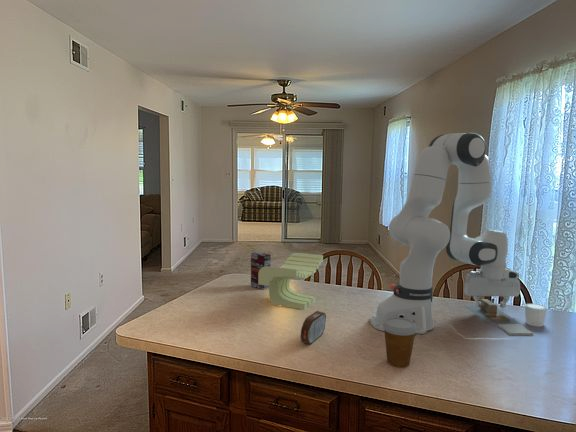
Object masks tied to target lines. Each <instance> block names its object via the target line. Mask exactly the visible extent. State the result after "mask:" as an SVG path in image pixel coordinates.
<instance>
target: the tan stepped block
mask: <svg viewBox="0 0 576 432" xmlns="http://www.w3.org/2000/svg"><path fill="white" fill-rule="evenodd" d="M480 303H482V305H481V307H480V309H481V310H483V311H484V312H485V313H487V314H486V316H487V317H488V318H489V319H491V320H492V321H510V319H508V318H507V317H505V316H504V315H502V314H497V308H498V305H497V304H496V303H494V302H492V301H491V300H489V299H486V298H480Z"/></svg>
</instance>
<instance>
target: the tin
mask: <svg viewBox="0 0 576 432" xmlns="http://www.w3.org/2000/svg"><path fill="white" fill-rule="evenodd" d="M326 320H327V314H326V313H325V312H322V311H319V310H316V311H314V312H313V313H311V314H309V315H308V316H307V317H306V318H305V319H304V321H303V323H302V325H301V329H300V341H301V342H302V343H303V344H308V345H312V344H313V343H315V341H317V340H318V339H319V338H320V337H321V336H322V335H323V334H324V331H325V329H326V328H325V327H326V323H327V321H326Z"/></svg>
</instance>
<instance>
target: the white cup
mask: <svg viewBox="0 0 576 432" xmlns="http://www.w3.org/2000/svg"><path fill="white" fill-rule="evenodd" d="M524 306H525V307H524V308H525V309H524V311H525V312H524V313H525V316H524V317H525V324H527V325H529V326H531V327H532V326H533V327H543V326H544V325H545V319H546V316H547V309H548V308H547V306H545V305H542V304H538V303H525V304H524Z"/></svg>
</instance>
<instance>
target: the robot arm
mask: <svg viewBox="0 0 576 432" xmlns="http://www.w3.org/2000/svg"><path fill="white" fill-rule="evenodd" d="M486 152H487V147H486V142H485V139H484V138H483V137H482V135H480V134H479V133H475V132H465V133H464V132H460V133H459V132H454V133H453V132H452V133H447V134H440V135H438V136H436V137H434V138H433V139H432V140H431V141H430V143H428V146H426V147H425V148H423V149H422V151H421V153H420V155H419V157H418V160H417V162H416V165H415V167H414V168H415V169H414V172H413V177H412V181H411V185H410V188H409V193H408V196H407V199H406V201H405V203H404V205H403V207H402V209H401V210H400V211H399V212H398V214H397V215H396V216H394V217H393V218H392V219H391V221H390V222H389V224H388V232H389V235H390V237H391V238H392V239H394V240H395V241H396V242H398V243H400V244H402V245H405V246H408V247H409V251H408V255H407V256H406V258H404V259H403V260H402V261H401V262H400V265H399V283H398V284H395V283H391V284H390V285H389V288H390V289H391V290H392V291H393V294H392V295H390V296H389V297H387V298H386V299H384V300H383V301H381V302H380V303H379V304H378V306H377V309H376V314H371V316H370V317H369V323H370V325H371V326H372V327H373V328H374V329H376V330H378V331H382V332H385V331H384V327H383V324H384V322H385V320H386V319H388V318H393V317H399V318H406V319H409V320H412V321H414V322H415V323H416V327H417V331H416V333H415V334H419V335H420V334H421V335H423V334H425V333H427V331H431V330H432V329H433V330H434V328H435V323H434V319H433V309H432V302H433V298H434V291H433V289H434V287H433V286H432V284H433V283H432V282H433V270H434V265H435V262H436V259H437V257H438V255H439V253H440V252H441V251H443V249H445V251H446V254H447V256H448V257H449V258H450V259H451V260H453V261H457V262H463V263H466V264H469V265H474V266H480V269H479V270H480V271H469V272H468V273H466V274H465V277H464V278H465V283H464V288H463V291H464V294H465V295H466V296H468V297H472V298H473V300H474V301H475V306H476V307H481V305H482V303H481V301H479V300H480V297H503V299H502V301H500V302H499V307H501V308H503V309H504V308H506V307H507V303H508V302H509V301H510V297H519V295H520V293H521V282H520V280H519V277H520V273H518V272H517V271H515V270H513V269H510V268H507V261H506V260H507V256H508V248H509V247H508V246H509V244H508V243H509V242H508V236H507V234H506V233H505V232H504V231H500V230H494V229H489V228H487V229H485V230H484V231H483V232H482V233H481V234H480V235H478V236H476V237H474V238H473V237H470V236H468V234H467V228H468V221H469V214H470V213H471V212H472V210H474V209H475V208H477V207H481V206H482V205H484V204H485V203H486V202H487V201H488V200H489V199H490V197H491V196H490V195H491V192H492V191H491V190H492V180H491V179H492V177H491V176H492V175H491V167H490V162H489V157H488V156H487V155H486ZM451 165H455V166H456V167H457V170H458V172H457V173H458V177H457V191H456V197H455V198H454V200H453V203H452V210H451V218H450V225H449V226H450V227H449V226H448V225H447V224H446V223H444V222H442V221H440V220H438V219H435V218H432V217H431V218H430V217H429V216H430V214H431V212H432V211H433V210H434V209H435V208H436V207H438V206H439V205H441V203H442V199H443V196H444V192H445V188H446V183H447V177H448V171H449V169H450V167H451Z"/></svg>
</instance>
